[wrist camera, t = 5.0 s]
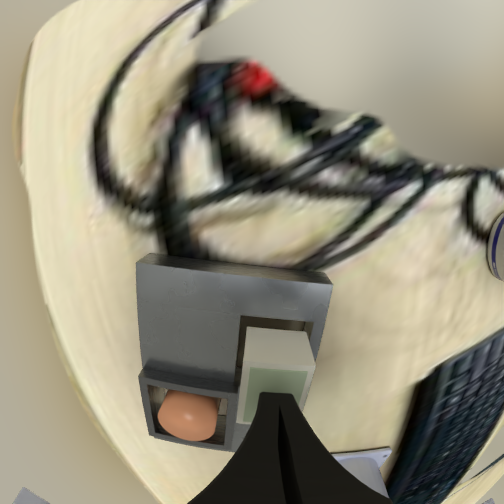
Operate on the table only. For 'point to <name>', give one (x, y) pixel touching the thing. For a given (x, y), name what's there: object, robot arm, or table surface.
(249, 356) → the on key
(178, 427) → the button
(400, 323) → the table surface
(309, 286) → the panel
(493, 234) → the energy drink
